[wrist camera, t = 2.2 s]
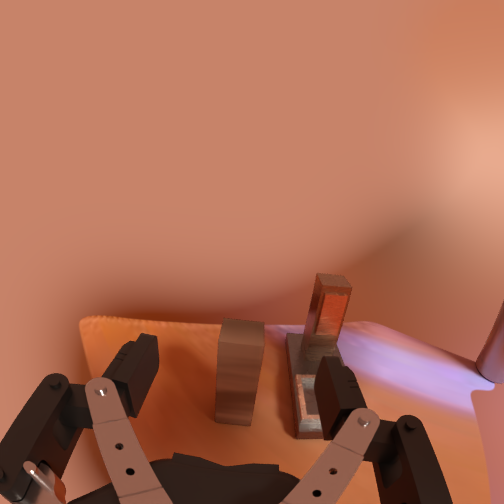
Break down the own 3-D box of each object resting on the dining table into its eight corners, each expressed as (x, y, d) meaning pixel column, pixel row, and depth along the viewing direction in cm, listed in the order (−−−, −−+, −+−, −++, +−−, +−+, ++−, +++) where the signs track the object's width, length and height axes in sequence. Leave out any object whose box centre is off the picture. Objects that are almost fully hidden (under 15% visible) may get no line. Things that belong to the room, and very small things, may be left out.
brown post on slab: (361, 435, 25) (409, 347, 21) (296, 439, 25) (329, 347, 21) (331, 342, 44) (350, 269, 40) (285, 340, 44) (299, 264, 40)
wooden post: (250, 425, 27) (264, 346, 23) (214, 421, 27) (218, 341, 23) (251, 398, 31) (264, 319, 27) (219, 395, 31) (224, 315, 27)
